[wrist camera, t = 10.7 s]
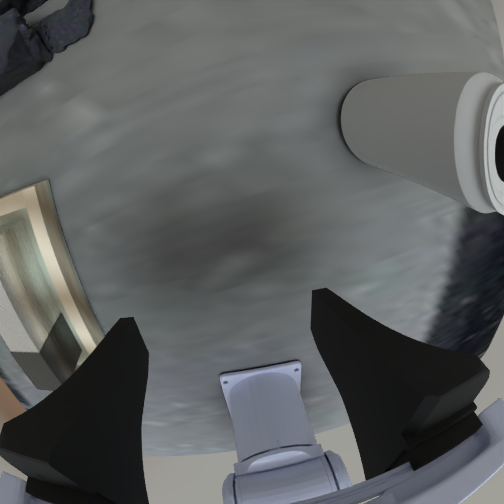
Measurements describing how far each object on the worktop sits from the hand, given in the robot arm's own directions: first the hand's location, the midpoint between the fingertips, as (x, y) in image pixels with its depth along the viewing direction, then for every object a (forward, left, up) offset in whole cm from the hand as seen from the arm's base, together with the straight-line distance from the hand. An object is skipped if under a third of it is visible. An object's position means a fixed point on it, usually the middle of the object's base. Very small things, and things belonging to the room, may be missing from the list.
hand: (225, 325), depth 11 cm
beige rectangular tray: (-3, +16, -9) cm, 19 cm away
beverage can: (+7, -12, -10) cm, 17 cm away
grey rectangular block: (-2, +16, -9) cm, 18 cm away
